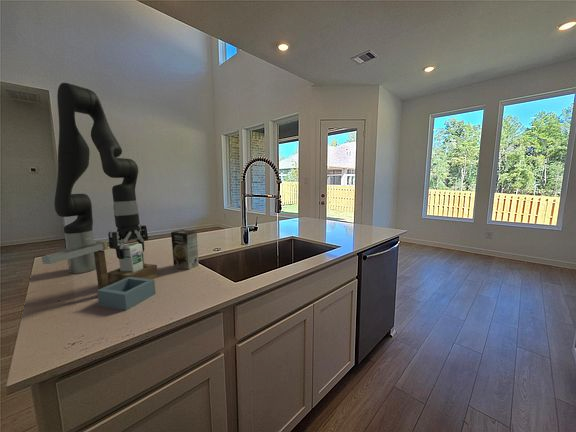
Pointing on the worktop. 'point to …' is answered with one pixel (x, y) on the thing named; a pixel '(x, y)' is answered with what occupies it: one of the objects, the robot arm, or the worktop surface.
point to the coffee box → (185, 249)
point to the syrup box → (132, 258)
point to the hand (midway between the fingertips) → (131, 255)
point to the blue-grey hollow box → (126, 293)
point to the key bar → (74, 252)
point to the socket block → (119, 271)
